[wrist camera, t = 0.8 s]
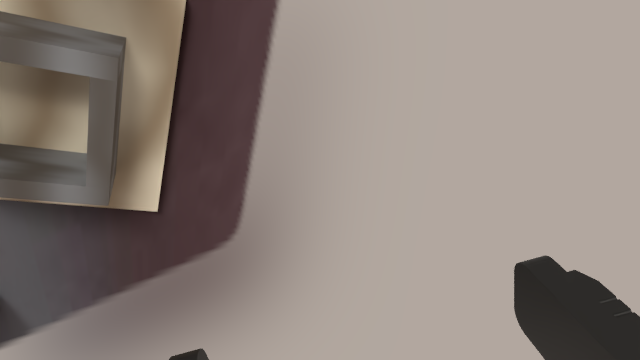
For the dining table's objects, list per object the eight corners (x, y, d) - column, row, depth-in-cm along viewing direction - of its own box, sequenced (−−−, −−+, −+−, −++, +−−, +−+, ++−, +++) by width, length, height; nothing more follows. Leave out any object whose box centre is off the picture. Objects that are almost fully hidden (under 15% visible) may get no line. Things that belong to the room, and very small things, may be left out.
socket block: (-100, 182, 32) (-146, 230, 28) (-155, -93, 24) (-234, -88, 19) (157, 203, 39) (154, 245, 34) (186, -6, 31) (187, 13, 26)
